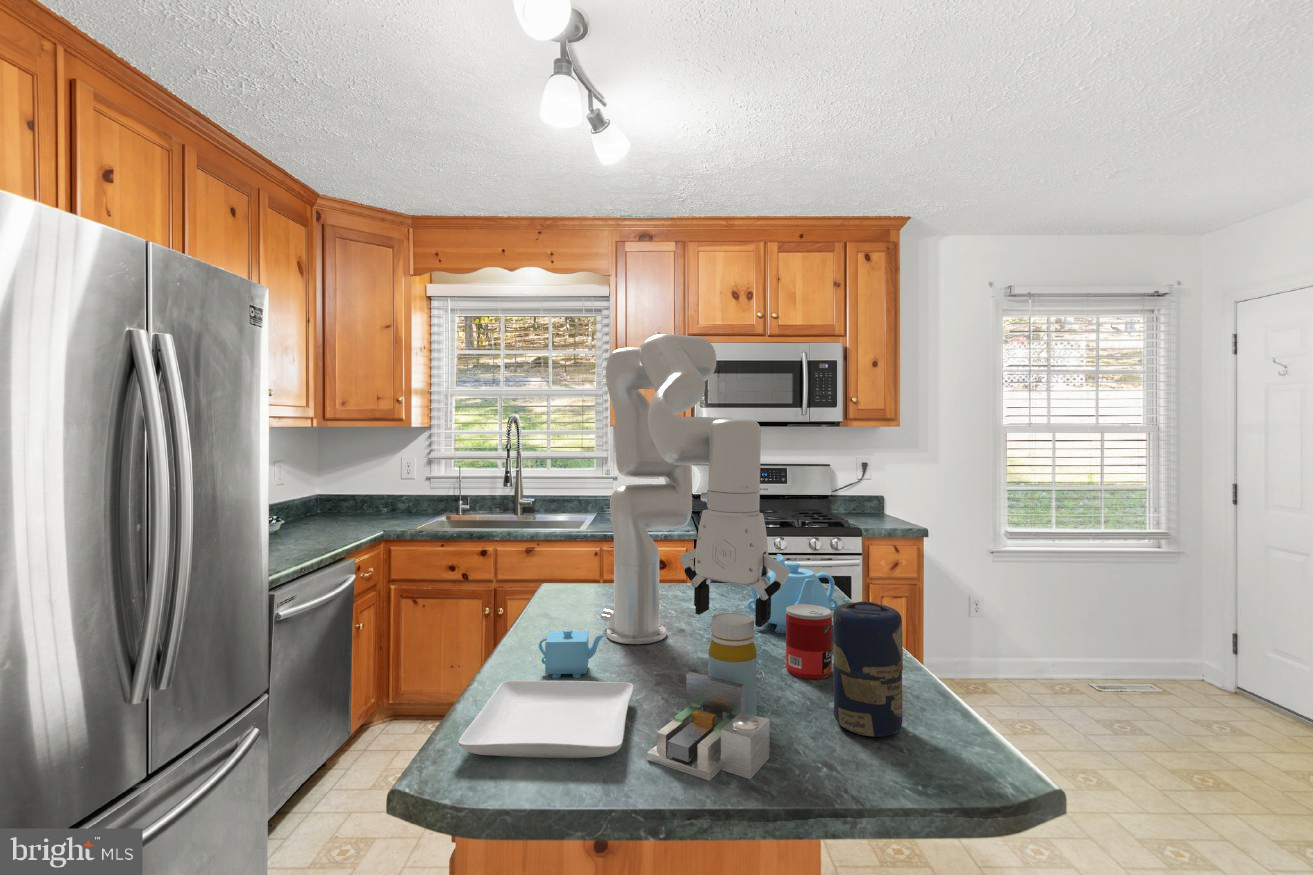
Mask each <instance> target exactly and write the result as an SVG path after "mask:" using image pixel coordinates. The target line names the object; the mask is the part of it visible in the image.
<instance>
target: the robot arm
mask: <svg viewBox="0 0 1313 875" xmlns="http://www.w3.org/2000/svg"><path fill="white" fill-rule="evenodd" d="M716 368H717V353H716V350H715V348H714V345H713V344H712V343H711V342H710V341H709V340H708V339H706V338H704V337H703V336H694V335H681V334H669V333H666V334H665V333H664V334H663V333H662V334H661V333H660V334H655V335H653V336H651V337H649V338H647V339H645V341H644V342H643V344H642V345H641V347H624V348H618V349H616V350H613V351H612V352H611V353H610V354H609V356H608V358H607V361H606V366H605V381H606V382H605V383H606V388H607V392H608V396H609V398H610V402H611V405H612V408H613V414H614V437H615V438H614V439H615V440H614V442H615V464H616V468H617V471H618V473H619V474H620V475H621V476H623V477H625V478H630V479H631V478H633V479H638V478H639V479H640V478H641V479H645V478H647V479H649V478H650V479H652V478H653V479H654V478H663V479H664V481H665V483H657V484H656V483H655V484H654V483H642V484H628V485H622V486H620V487H618V488H616V489H614V491H613V492H612V494H611V496H610V499H609V511H610V512H609V513H610V519H611V526H612V533H613V534H612V535H613V609H608V608H604V609H603V611H602V614H601V615H600V618H599V619H600V621H603V622H608V623H609V626H608V627H607V628H606V633H605V634H607V635H606V637H607V638H608V639H609V640H611V641H613V642H615V643H619V644H626V645H646V644H652V643H653V644H654V643H657V642H659V641H662V640H664V639H665V638H666V637H667V628H666V627H665V626H664V625H663V624H660V551H659V550H660V549H659V547H658V545H657V544H656V542H655V541H654V539H653V538H652V537H651V535H650V534H649V531H653V530H664V529H677V528H683V527H684V526H686V525H688V524H689V522H690V520H691V517H692V510H693V492H692V491H693V490H692V489H693V488H692V466H693V465H694V466H695V465H696V466H698V465H699V466H700V465H703V466H704V465H708V481H707V482H708V485H707V486H708V488H707V491H706V492H703V491H702V493H701V494H700V501H701V502H705V503H706V507H707V509H704V510H702V511H701V512H702V513H701V516H700V520H699V526H698V531H697V538H696V545H695V548H694V549H691V550H689V551H687V552H685V553H682V554H680V555H679V560H680V562H681V565H682V568H684V574H685V576H686V577H687V578H688V579H689V581H690V585H691V587H693V588H694V590H693V592H694V593H693V604H694V607H695V614H696V615H698V616H699V615H702V614H704V613H705V612H707V611H709V610H710V590H711V589H710V588H711V587H710V584H709V583H707V582H708V581H709V580H711V581H716V582H722V583H728V584H733V585H734V584H735V585H740V586H750V587H751V585H752V586H753V588H754V589H755V591H756V593H757V596H758V595H759V598H758V599H756V612H754V613H755V617H754V626H756V627H757V628H762V627H763V626H764V625H766V624H767V623H768V620H769V619H770V617H771V596H772V595H774V594H775V593H776V592H777V591H778V590H779V589H780V588H782V587H783V584H784V582H785V581H786V579H787V577H788V576H789V574H790V570H789V569H788V568H786V565H785V566H783V565H782V564H781V563H779V562H778V561H777V559H775V558H773V557H772V556H770V554H769V548H768V547H769V546H768V536H767V535H768V534H767V527H766V522H765V517H764V513H762V512H760V500H761V498H760V496H761V492H760V490H761V445H762V444H761V443H762V442H761V440H762V430H761V429H762V428H761V426H760V424H759V423H758V422H757V421H756V420H754V419H753V420H752V419H744V418H738V419H737V418H731V417H715V416H714V417H713V416H712V417H711V416H677V415H680V414H682V413H684V412H686V411H688V410H690V409H692V408H694V407H695V406H697V404H699V402H700V401H701V399H702V398H703V397H704V394H705V390H706V381H707V380H709V379H710V378H711V377H712V376H713V375H714V373H715V370H716ZM640 390H653V391H655V394H654V395H653V397H652V399H651V401H649V400H648V398H647V397H646V395H645V394H643V393H642V392H641V391H640ZM693 560H694V561H695V562H693ZM694 563H695V564H694ZM769 570H770V572H771V571H773V572H774V573H775V574H776V577H775V580H774V581H773V583H771V584H770V583H769V582H768V580H767V579H766V577H767V575H768V574H769Z"/></svg>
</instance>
